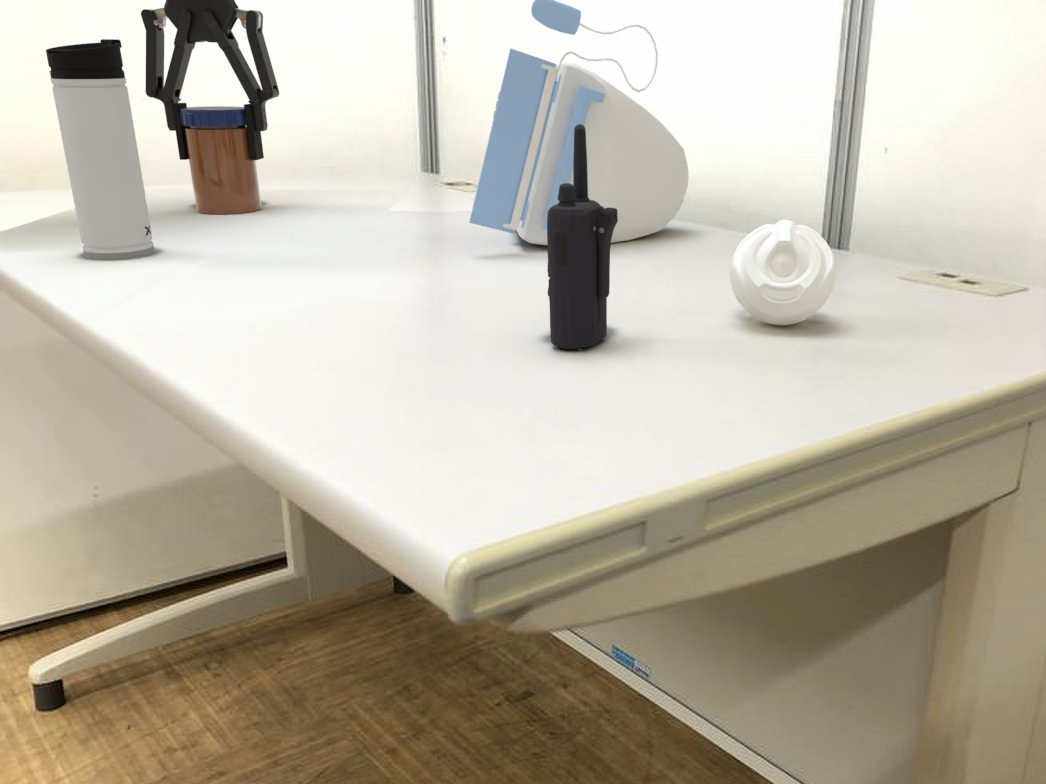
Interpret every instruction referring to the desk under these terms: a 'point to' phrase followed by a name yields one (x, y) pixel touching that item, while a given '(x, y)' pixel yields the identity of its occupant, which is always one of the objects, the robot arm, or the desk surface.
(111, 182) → the travel mug
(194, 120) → the jar lid
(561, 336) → the two-way radio
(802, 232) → the motion sensor
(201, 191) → the jar
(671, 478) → the desk surface
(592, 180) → the vintage crt computer
